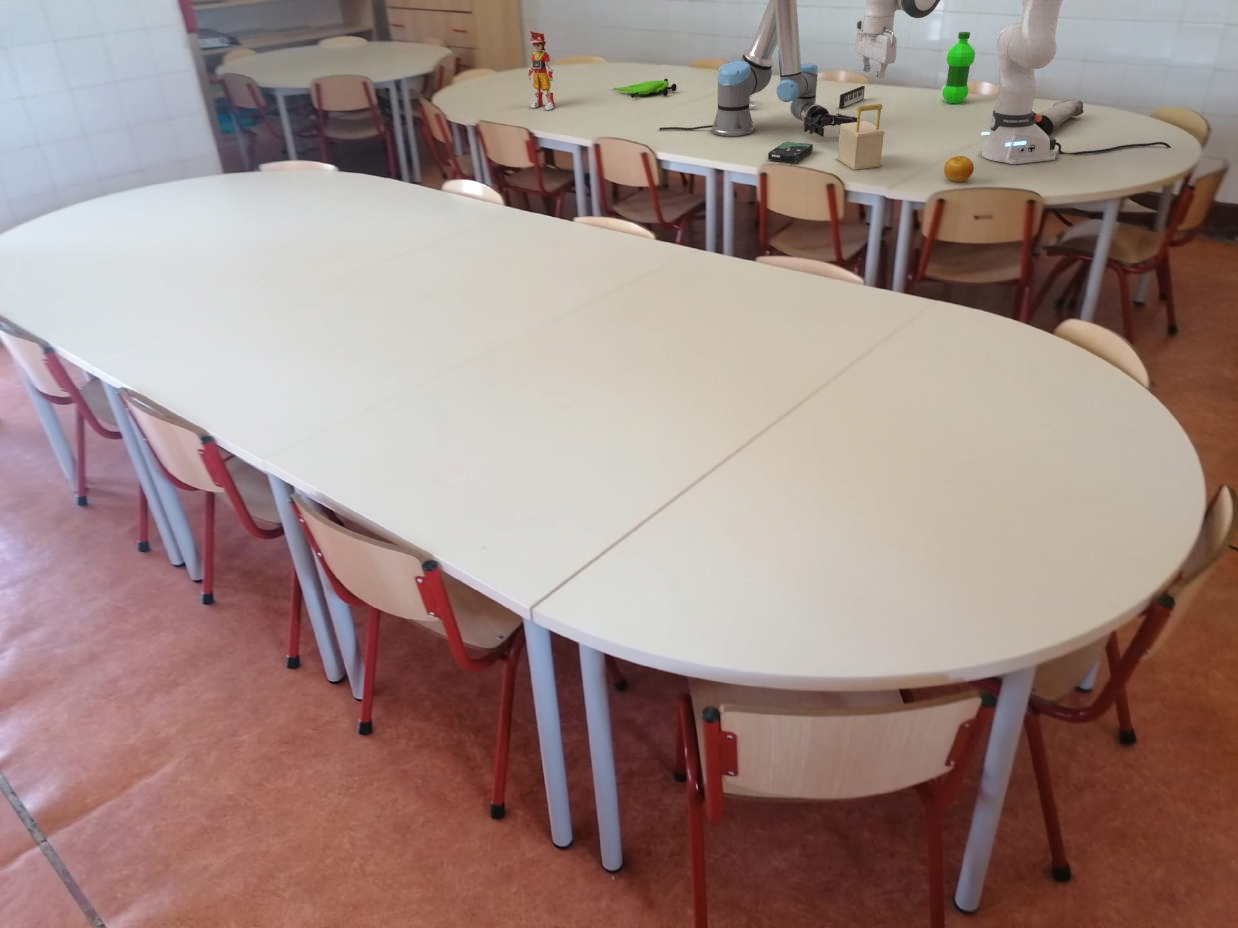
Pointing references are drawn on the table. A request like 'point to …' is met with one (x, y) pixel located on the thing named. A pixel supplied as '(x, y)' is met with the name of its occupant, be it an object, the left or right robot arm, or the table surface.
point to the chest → (860, 150)
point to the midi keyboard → (851, 96)
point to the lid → (865, 123)
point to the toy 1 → (541, 71)
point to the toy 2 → (648, 88)
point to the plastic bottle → (958, 69)
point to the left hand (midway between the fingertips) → (841, 130)
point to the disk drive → (790, 152)
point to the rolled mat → (1059, 114)
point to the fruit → (958, 168)
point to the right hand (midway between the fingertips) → (873, 74)
